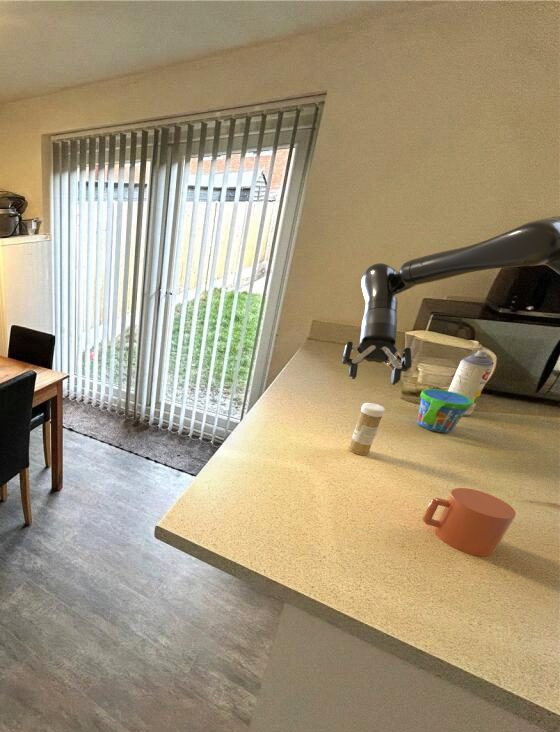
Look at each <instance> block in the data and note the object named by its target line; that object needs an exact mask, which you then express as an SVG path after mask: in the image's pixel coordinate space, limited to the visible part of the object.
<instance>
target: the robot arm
mask: <svg viewBox="0 0 560 732" xmlns="http://www.w3.org/2000/svg"><path fill="white" fill-rule="evenodd" d="M543 264H544V265H545V266H547V267H549V268H550V269H551V270H553V271H555V273H557V274H558V275H560V215H559V216H557V215H555V216H548V217H545V218H540V219H537V220H533V221H529V222H527V223H523V224H522V225H520V226H517V227H515V228H513V229H510V230H508V231H506V232H503V233H501V234H498V235H495V236H493V237H491V238H489V239H486V240H483V241H479V242H477V243H473V244H471V245H467V246H463V247H459V248H454V249H449V250H444V251H439V252H435V253H431V254H427V255H423V256H421V257H416V258H413V259H410V260H407V261H405V262H404V263H403V264H402V265H401V266H400V269H399V271H398V270H396V269H395V268H393V267H392V266H390V265H389V264H387V263H381V262H380V263H378V262H377V263H375V264H372V265H370V266H369V267H367V269H365V271H364V273H363V275H362V277H361V281H360V282H361V283H360V286H361V291H362V295H363V299H364V302H365V305H364V312H363V318H362V321H361V325H360V339H359V344H356V343H353V342H352V341H347V342H346V345H345V346H344V350H343V353H342V354H343V355H342V359H341V363H342V365H347V366H348V367H349V368H348V376H349V377H350V379H351V380H355V379H356V378H357V374H358V366H359V364H360V363H362V362H363V361H364V360H365V361H367V362H369V363H370V362H375V363H377V364H378V363H379V364H382V363H384V365H386V367H387V368H388V367H389V369H390V370H391V371H392V372H391V374H390V385H393V386H395V385H396V384H398V383H399V382H400V381H401V376H402V372H403V373H405V372H408V370H409V369H411V368H412V349H411V348H410V347H405V348H397V346H396V342H397V341H396V340H397V329H398V298H397V296H396V295H398V294H401V293H403V292H405V291H407V290H410V289H412V288H414V287H416V286H418V285H419V286H420V285H424V284H429V283H433V282H438V281H443V280H446V279H451V278H454V277H457V276H461V275H465V274H469V273H473V272H474V273H475V272H480V271H487V270H495V269H504V268H505V269H506V268H507V269H508V268H518V267H535V266H541V265H543ZM355 350H356V351H357V352H358V355H357V356H356V357H355V358H353V359H352V358H351V354H352V353H353V352H354V351H355ZM396 354H397V355H398V357H399V358H400V359H401V361H400V362H399V361H398V359H397V357H396V356H395V355H396Z"/></svg>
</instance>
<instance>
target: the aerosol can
mask: <svg viewBox="0 0 560 732" xmlns="http://www.w3.org/2000/svg"><path fill="white" fill-rule="evenodd" d="M486 354H487V351H486V350H482V349H481V350H477V352H476V353H473V354H471V355H468V356H466V357H462V360H460V362H459V365H458V366H457V369H456V371H455V374H454V376H453V378H452V381H451V384H450V385H449V388H448V390H447V391H450V392H454V393H458V394H461V395H463V396H466V397H468V398H470V399H471V400H472V401H473V403H472V405H471V407H470V408H469V409H467V410H466V411H465V413H464V415H463V416H462V417H471V416H472V413H473V411H474V409H475V407H476V405H477V403H478V402H479V401H478V400H479V399H480V396H481V394H482V392H483V391H484V387H485V386H486V384H487V381H488V379H489V377H490V375H491V373H492V370H493V369H494V364H495V363H494V362H493V361H492V360H491V359H490V358H489V356H488V355H486Z"/></svg>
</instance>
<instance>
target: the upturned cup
mask: <svg viewBox="0 0 560 732" xmlns="http://www.w3.org/2000/svg"><path fill="white" fill-rule="evenodd" d="M427 505H428V506H427V507H426V509H425V511H424V514H423V516H422V521H423V523H425V525H428V526H431V527H433V532H434V534H435V535H436V536H437V537H438V538H439V539H440V540H441V541H442V542H444V543H446V544H447V545H448V546H450V547H452V548H454V549H456V550H457V551H461V552H463V553H466V554H469V555H472V556H475V557H477V556H478V557H491V556H493V555H494V554H495V552H496V551H497V548H498V546H499V545H500V543H501V542H502V540H503V538H504V537H505V535H506V533H507V531H508V530H509V528H510V526H511V524H512V522H513V521H514V519H515V518H516V516H517V512H516V510H515V509H514V507H512V506H511V505H510V504H509V503H507V502H506V501H505V500H502V499H501V498H498V497H496V496H495V495H492V494H489V493H487V492H484V491H480V490H477V489H473V488H468V487H467V488H465V487H456V488H453V489H452V490H451V491H450V493H449V495H448V497H447V499H444V498H439V497H435V498H432V499H431V500H430V501H429V503H428V504H427ZM439 506H441V507H442V509H441V512H440V513H439V515H438V518H437V519H434V515H435V514H436V511H437V509H438V507H439Z"/></svg>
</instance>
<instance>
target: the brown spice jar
mask: <svg viewBox="0 0 560 732" xmlns="http://www.w3.org/2000/svg"><path fill="white" fill-rule="evenodd" d="M385 411H386V408H385V407H384V406H382V405H381V404H377V403H373V402H365V403H363V404H362V405H361V408H360V414H359V417H358V419H357V422H356V425H355V428H354V429H353V430H354V431H353V433H352V435H351V440H350V444H349V445H348V450H349V451H350V452H351V453H353V454H355V455H359V456H368V455H369V454H370V450H371V448H372V445H373V443H374V440H375V437H376V436H377V435H376V434H377V432H378V429H379V425H380V422H381V421H382V418H383V416H384V414H385Z"/></svg>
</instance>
